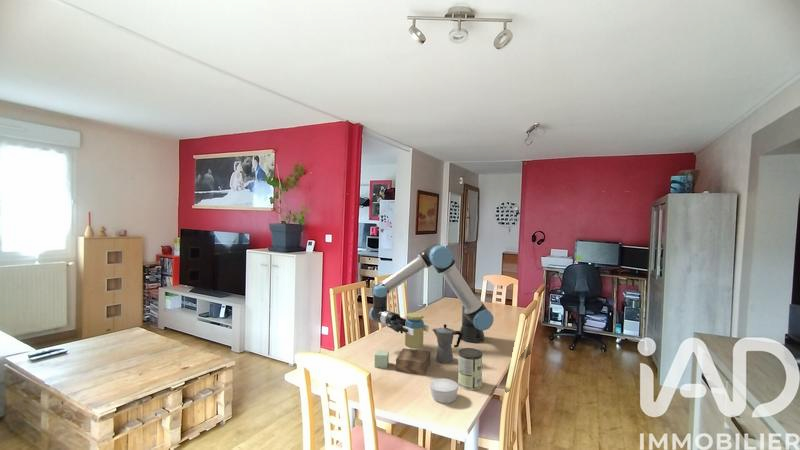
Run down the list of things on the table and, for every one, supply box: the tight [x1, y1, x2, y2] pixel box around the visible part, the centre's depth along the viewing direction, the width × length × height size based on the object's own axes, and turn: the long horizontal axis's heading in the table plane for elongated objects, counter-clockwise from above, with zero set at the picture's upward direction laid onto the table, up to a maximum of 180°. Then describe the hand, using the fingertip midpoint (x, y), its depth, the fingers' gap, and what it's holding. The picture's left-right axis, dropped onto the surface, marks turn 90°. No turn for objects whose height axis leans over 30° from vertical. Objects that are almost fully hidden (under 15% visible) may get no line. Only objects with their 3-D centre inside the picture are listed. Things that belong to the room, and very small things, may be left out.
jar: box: [404, 312, 425, 349], centre depth 166 cm, size 9×9×15 cm
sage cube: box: [374, 349, 390, 369], centre depth 168 cm, size 6×6×6 cm
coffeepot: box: [432, 323, 462, 364], centre depth 175 cm, size 15×9×18 cm, turn 68°
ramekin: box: [429, 378, 459, 404], centre depth 138 cm, size 11×11×5 cm
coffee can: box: [457, 347, 483, 391], centre depth 149 cm, size 10×10×14 cm
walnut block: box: [395, 348, 431, 376], centre depth 166 cm, size 14×14×6 cm
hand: (420, 330), depth 163 cm, fingers closed on jar, 9 cm apart
